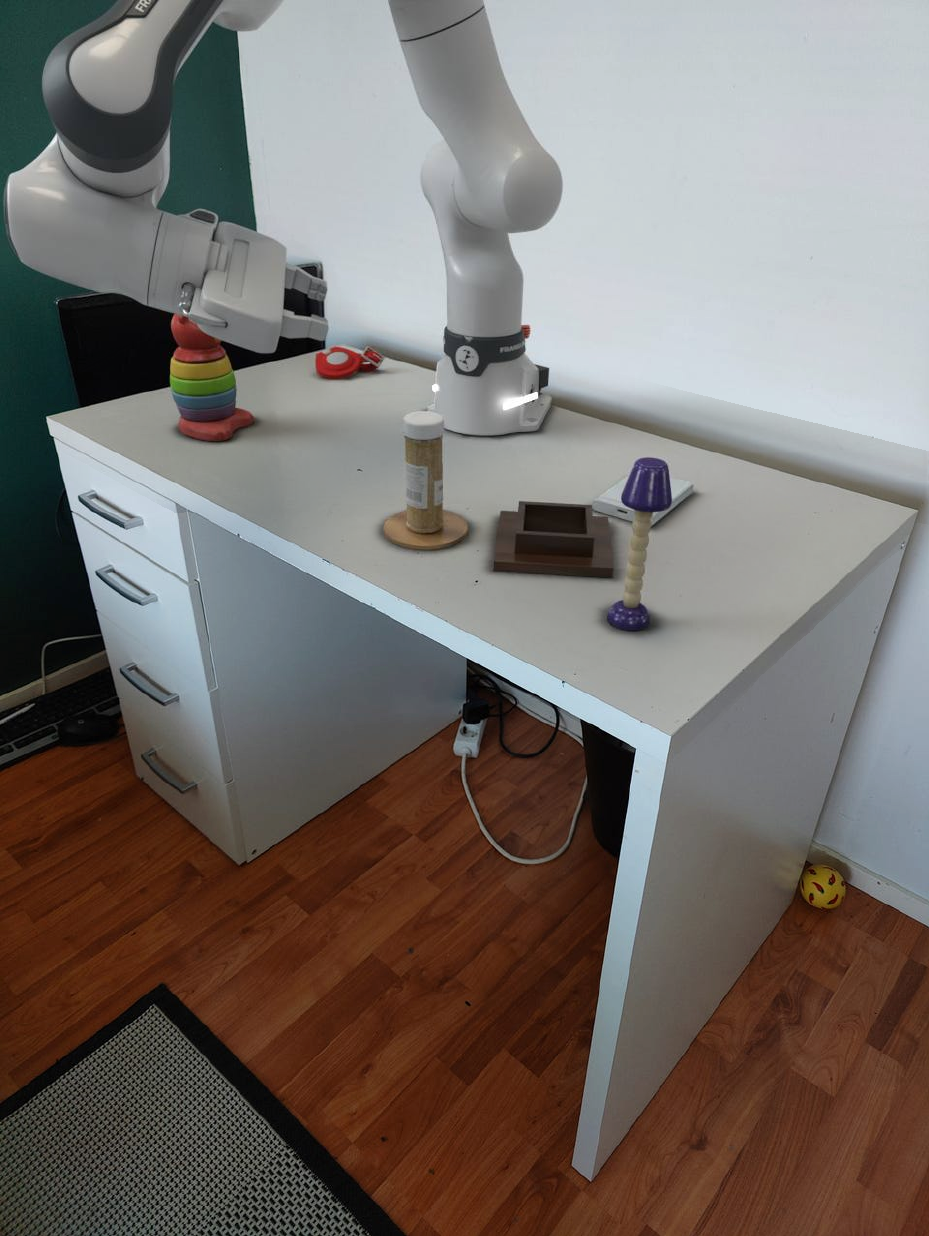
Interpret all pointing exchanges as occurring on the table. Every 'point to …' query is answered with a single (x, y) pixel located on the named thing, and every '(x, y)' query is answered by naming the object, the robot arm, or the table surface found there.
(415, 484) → the sprinkles bottle
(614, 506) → the hard drive
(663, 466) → the toy lamp
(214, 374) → the stacking bear
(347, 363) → the red tape dispenser
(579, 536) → the holder
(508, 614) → the table surface
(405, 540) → the coaster
